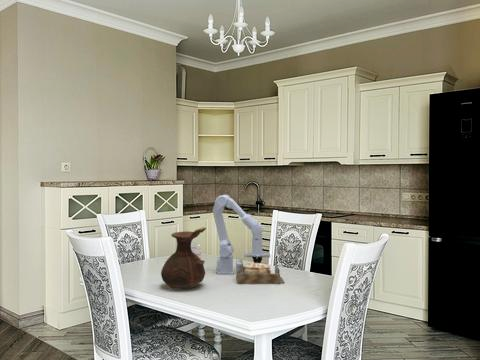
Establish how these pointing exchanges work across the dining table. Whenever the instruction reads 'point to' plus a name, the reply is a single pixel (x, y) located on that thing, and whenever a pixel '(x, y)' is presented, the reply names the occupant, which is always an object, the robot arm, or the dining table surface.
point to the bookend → (278, 273)
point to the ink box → (196, 248)
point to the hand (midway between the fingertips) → (257, 270)
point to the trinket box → (256, 269)
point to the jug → (183, 263)
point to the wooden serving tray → (254, 276)
